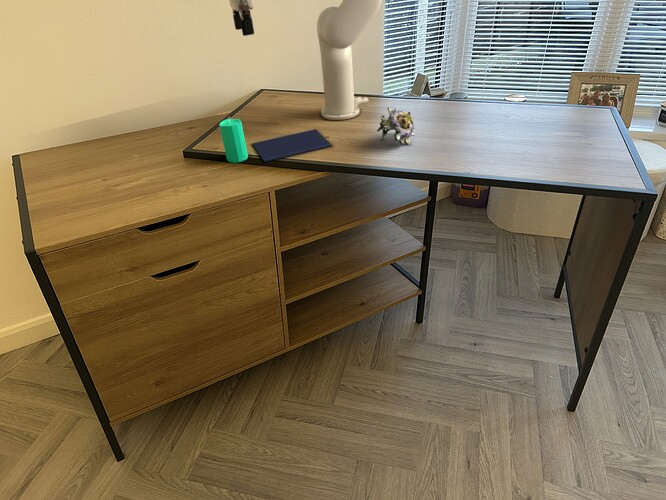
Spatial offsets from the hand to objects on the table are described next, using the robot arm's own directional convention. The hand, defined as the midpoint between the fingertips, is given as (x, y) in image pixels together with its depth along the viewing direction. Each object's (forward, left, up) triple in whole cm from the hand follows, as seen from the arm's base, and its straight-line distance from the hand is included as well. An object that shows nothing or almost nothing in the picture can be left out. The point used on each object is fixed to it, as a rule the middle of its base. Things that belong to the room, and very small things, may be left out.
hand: (244, 31), depth 138 cm
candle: (+12, +20, -28) cm, 37 cm away
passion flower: (-31, +33, -28) cm, 54 cm away
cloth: (-4, +20, -28) cm, 35 cm away
